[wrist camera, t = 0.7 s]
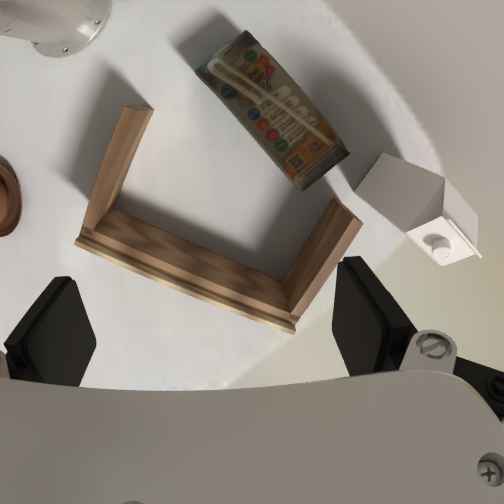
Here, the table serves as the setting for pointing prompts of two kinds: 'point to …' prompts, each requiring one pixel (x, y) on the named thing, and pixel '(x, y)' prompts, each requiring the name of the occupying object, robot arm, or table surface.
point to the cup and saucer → (9, 202)
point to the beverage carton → (273, 109)
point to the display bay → (198, 258)
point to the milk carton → (422, 208)
